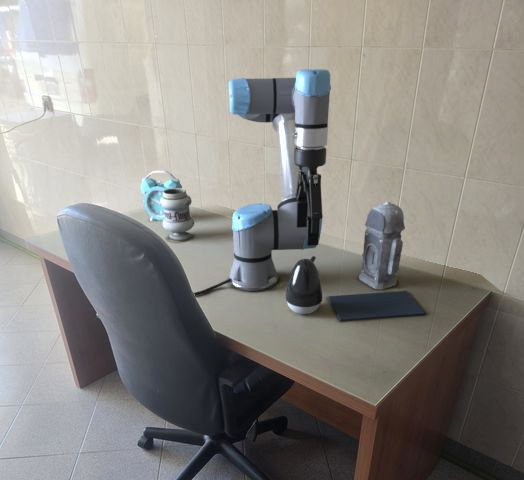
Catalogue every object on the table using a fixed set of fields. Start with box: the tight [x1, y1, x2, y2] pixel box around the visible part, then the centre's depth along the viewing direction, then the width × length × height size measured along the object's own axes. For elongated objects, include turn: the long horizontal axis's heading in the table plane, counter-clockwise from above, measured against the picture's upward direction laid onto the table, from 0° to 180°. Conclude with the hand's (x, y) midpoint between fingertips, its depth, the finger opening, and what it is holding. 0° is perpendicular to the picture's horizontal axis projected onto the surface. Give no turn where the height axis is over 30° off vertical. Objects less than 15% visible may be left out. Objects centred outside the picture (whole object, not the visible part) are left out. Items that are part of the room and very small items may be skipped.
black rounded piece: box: [285, 255, 324, 315], centre depth 128 cm, size 10×10×15 cm
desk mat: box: [327, 290, 426, 322], centre depth 133 cm, size 24×14×1 cm, turn 97°
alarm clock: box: [140, 169, 183, 222], centre depth 196 cm, size 17×10×20 cm, turn 80°
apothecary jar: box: [160, 187, 195, 243], centre depth 178 cm, size 12×12×18 cm
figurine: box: [358, 201, 406, 290], centre depth 140 cm, size 10×14×25 cm
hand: (306, 235), depth 120 cm, fingers open, 13 cm apart
